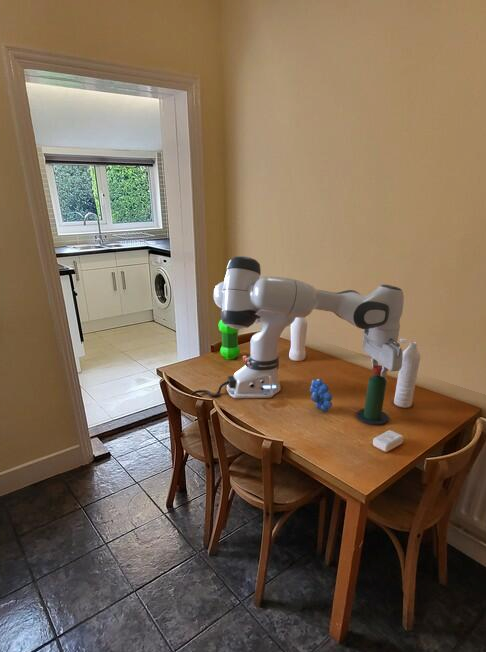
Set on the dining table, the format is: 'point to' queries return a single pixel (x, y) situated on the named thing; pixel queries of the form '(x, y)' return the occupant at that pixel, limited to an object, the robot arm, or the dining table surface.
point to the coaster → (381, 421)
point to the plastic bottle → (229, 341)
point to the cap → (377, 370)
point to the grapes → (321, 395)
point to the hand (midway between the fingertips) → (378, 373)
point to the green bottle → (374, 397)
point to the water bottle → (407, 375)
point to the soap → (388, 440)
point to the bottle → (298, 339)
